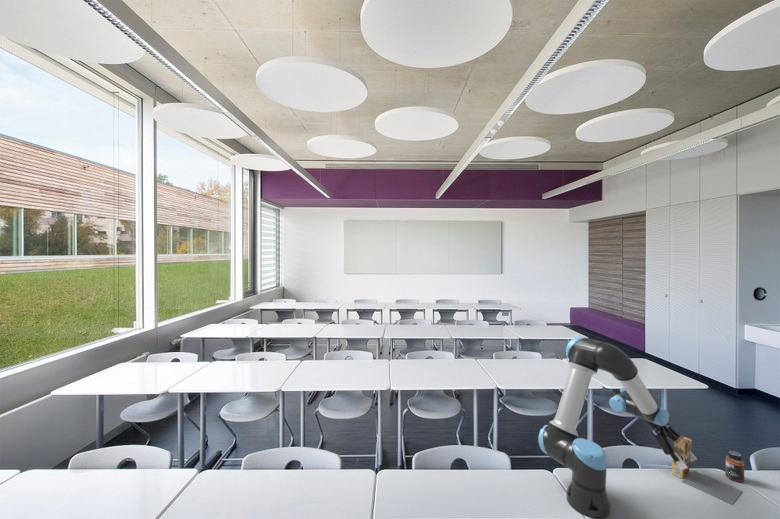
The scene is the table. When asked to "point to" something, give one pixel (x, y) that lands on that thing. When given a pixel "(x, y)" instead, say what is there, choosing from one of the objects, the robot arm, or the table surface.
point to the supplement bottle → (734, 467)
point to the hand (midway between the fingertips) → (689, 464)
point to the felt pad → (712, 487)
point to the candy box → (682, 456)
